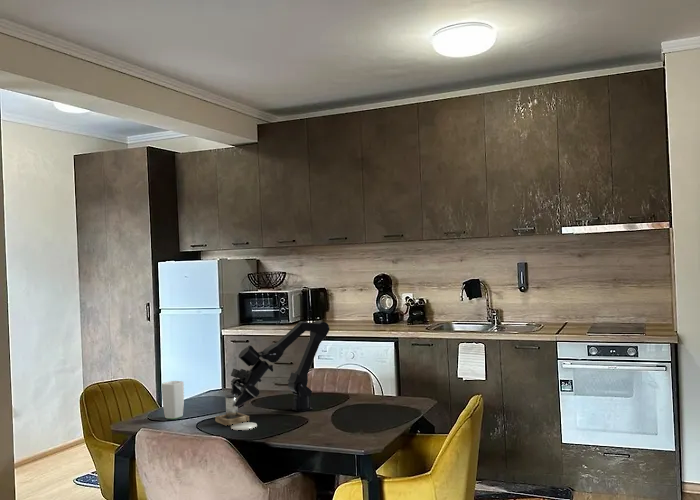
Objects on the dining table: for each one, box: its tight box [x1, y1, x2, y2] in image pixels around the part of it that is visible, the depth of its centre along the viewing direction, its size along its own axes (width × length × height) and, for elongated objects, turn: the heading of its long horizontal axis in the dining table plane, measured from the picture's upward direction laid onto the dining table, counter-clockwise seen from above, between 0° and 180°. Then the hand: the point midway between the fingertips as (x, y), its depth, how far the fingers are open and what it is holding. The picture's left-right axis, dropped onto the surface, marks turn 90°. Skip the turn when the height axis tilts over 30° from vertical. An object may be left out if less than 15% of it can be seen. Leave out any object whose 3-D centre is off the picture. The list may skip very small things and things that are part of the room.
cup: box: [161, 380, 185, 420], centre depth 270 cm, size 7×7×15 cm
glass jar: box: [224, 392, 239, 419], centre depth 260 cm, size 5×5×11 cm
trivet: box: [230, 421, 258, 431], centre depth 250 cm, size 10×10×1 cm
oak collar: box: [214, 412, 250, 427], centre depth 260 cm, size 10×10×2 cm
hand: (231, 404), depth 260 cm, fingers open, 9 cm apart
